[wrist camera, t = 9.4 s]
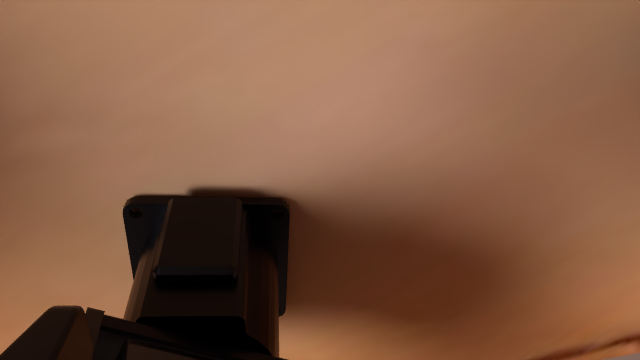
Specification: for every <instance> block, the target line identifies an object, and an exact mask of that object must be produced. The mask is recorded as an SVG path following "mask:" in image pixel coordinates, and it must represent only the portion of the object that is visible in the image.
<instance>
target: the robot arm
mask: <svg viewBox="0 0 640 360" xmlns="http://www.w3.org/2000/svg"><path fill="white" fill-rule="evenodd" d="M134 208H136V209H139V210H141V211H142V212H135V211H133V210H132V209H134ZM277 209H278V210H281V211H282V212H280V213H273V212H272V211H273V210H277ZM289 216H290V213H289V205H288V203H287V202H286V201H284V200H282V199H277V198H233V197H134V198H130V199H128V200H127V201H126V203H125V205H124V208H123V218H124V224H125V230H126V237H127V243H128V249H129V255H130V261H131V267H132V273H133V279H134V282H133V285H132V289H131V293H130V296H129V300H128V304H127V307H126V311H125V315H124V318H123V319H121V318H116V317H112V316H108V315H104V312H105V311H101V310H97V309H93V308H89V307H88V308H87V311H86V314H85V312H84V310H83V308H82V307H80V306H53V307H51V308H49V309H48V310H47V311H46V312H44V313H43V314H42V315H41V316H40V317H39V318H38V319H37V320H36V321H35V322H34V323H33V324H32V325H31V326H30V327H29V328H28V329H27V330H26V331H25V332H24V333H23V334H22V335H21V336H19V337H18V338H17V339H16V340H15V341H14V342H13V343H12V344H11V345H10V346H9V347H8V348H7V349H6V350H5V351H4V352H3V353H2V354H1V355H0V360H287V359H283V358H279V317H280V316H282V315H283V314H284V313H285V310H286V287H287V263H288V240H289Z"/></svg>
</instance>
